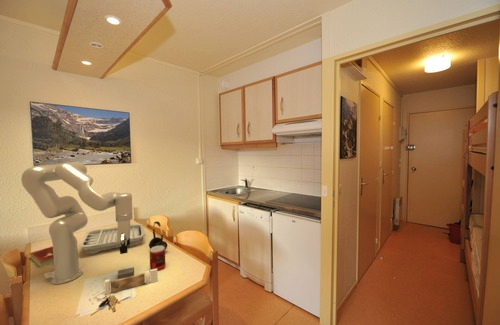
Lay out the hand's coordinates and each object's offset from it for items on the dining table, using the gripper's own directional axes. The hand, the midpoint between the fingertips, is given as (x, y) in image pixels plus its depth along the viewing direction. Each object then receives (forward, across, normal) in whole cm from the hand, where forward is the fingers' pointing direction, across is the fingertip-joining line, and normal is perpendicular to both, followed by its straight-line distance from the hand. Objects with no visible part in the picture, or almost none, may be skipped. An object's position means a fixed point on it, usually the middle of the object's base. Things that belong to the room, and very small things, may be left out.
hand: (125, 249), depth 110 cm
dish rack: (+15, -48, -13) cm, 52 cm away
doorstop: (+14, +3, 0) cm, 15 cm away
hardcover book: (+16, -41, -47) cm, 64 cm away
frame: (+14, +13, +4) cm, 19 cm away
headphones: (+14, -21, +16) cm, 30 cm away
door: (+14, +13, +3) cm, 19 cm away
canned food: (+14, -1, +15) cm, 21 cm away
